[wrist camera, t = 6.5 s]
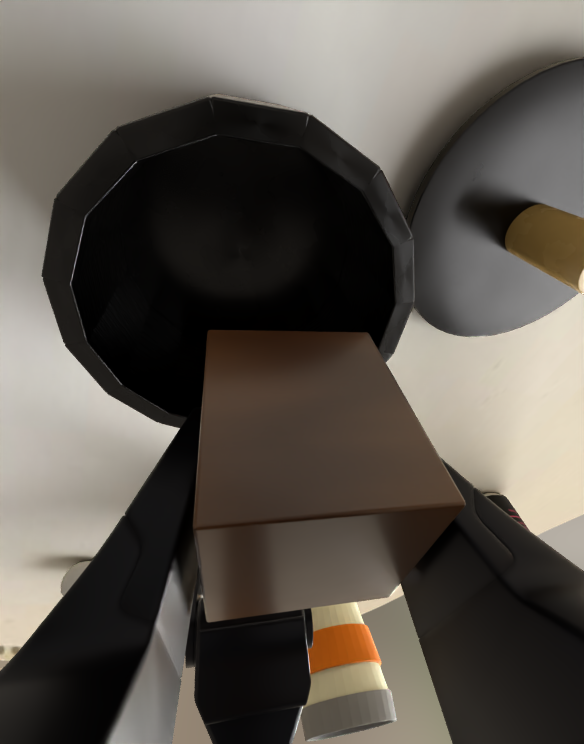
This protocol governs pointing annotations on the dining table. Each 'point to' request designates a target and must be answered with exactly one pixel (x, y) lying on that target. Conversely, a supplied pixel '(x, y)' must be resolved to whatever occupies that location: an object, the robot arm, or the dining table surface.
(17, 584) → the dining table surface
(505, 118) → the tin lid
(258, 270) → the tin
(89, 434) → the dining table surface
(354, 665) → the reusable coffee cup
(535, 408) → the dining table surface
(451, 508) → the block
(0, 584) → the dining table surface
